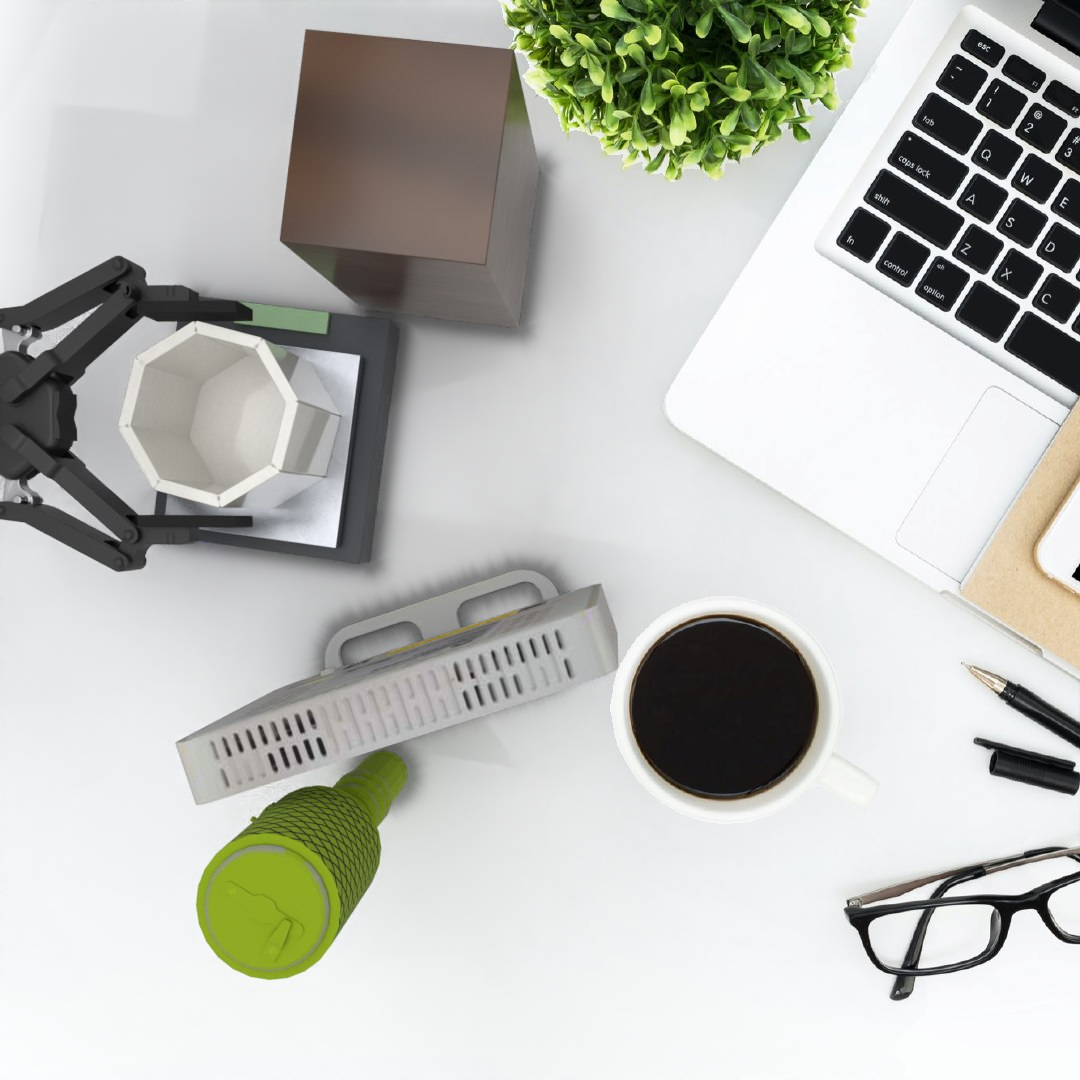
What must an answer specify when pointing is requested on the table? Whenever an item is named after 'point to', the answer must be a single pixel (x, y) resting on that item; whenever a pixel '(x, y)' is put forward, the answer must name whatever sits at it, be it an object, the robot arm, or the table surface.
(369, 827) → the microphone
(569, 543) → the table surface
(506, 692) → the network device
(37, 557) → the table surface
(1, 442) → the robot arm
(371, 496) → the scale
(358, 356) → the scale pan
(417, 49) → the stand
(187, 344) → the cup
